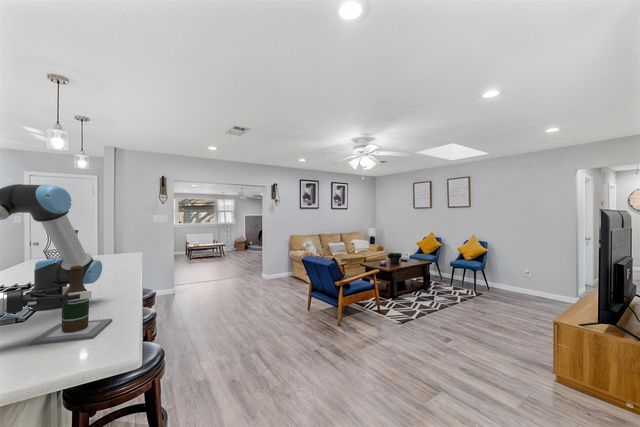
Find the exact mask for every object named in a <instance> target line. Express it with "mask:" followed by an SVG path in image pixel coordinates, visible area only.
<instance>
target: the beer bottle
mask: <svg viewBox="0 0 640 427" xmlns="http://www.w3.org/2000/svg"><path fill="white" fill-rule="evenodd" d="M82 269H83V266H72V267H71V269H70V270H71V278H70V284H68V285H69V286H68V287H69V288H68V290H67V291H66V292H65V294H64V295H68V294H70V293H76V292H83V291H88V290H87V288H85V286H83V285H84V284H83V275H82ZM89 309H90V298H88V299H82V300H75V301H69V302H68V304H66V305H64V304H62V307H61V323H62V331H63V332H64V333H70V332H76V331H80V330H83V329H85V328H87V327H88V321H89V317H90V316H89V314H90V313H89V312H90V310H89Z"/></svg>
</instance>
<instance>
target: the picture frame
mask: <svg viewBox="0 0 640 427" xmlns="http://www.w3.org/2000/svg"><path fill="white" fill-rule="evenodd" d="M112 322H113V318H104V319H94V320H88V327H87V328H85V329H83V330H80V331H76V332H70V333H64V332H63V331H62V322H59V323H58V324H56V325H54V326H53V327H51V328H50V329H48V330H47V331H44V333H42V334H41V335H39V336H37V337H36V338H34V339H32V340H31V341H29V344H28V346H36V345H45V344H54V343H55V344H56V343H63V342H72V341H74V342H75V341H83V340H92V339H93V340H94V339H95V337H97V336H98V335H99V334H100V333H101V332H102V331H104V329H105V328H107V326H108V325H110V324H111V323H112Z"/></svg>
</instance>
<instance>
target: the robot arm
mask: <svg viewBox="0 0 640 427" xmlns="http://www.w3.org/2000/svg"><path fill="white" fill-rule="evenodd" d="M71 207H72V198H71V195H70V193H69V192H68V191H67V190H66V189H65V187H64V188H63V187H62V186H58V185H54V184H53V185H52V184H23V183H22V184H21V183H18V184H17V183H16V184H10V185H5V186H3V187H1V188H0V221H3V220H7V219H8V218H9V217H10V216H12V215H14V214H18V213H22V214H23V213H24V214H27V213H28V214H30V215H31V218H32V219H33V220H34V221H35V222H37V223H41V224H42V226H43V229H44V230H45V231H46V233H47V236H48V237H49V239H50V240H51V242H52V244H53V245H54V248H55V249H56V251H57V253H58V254H59V256H60V257H56V258H48V259H45V260H43V259H42V260H39V261H36V263H35V265H34V270H33V271H34V272H33V273H34V277H33V278H34V279H33V280H34V282H33V286H34V287H33V291H28V292H25V295H24V291H23V289H16V290H8V291H6V292H5V291H0V316H3V315H4V314H5V313H6V314H7V315H9V314H16V313H21V312H22V311H23V310H24V306H27V308H28V307H31V308H33V309H30V308H28V309H27V310H28V311H32V312H33V311H35V312H37V311H39V312H40V311H48V310H54V309H58V308H62V304H64V305H66V304H68V302H69V301H75V300H82V299H88V298H89V299H91V298H92V290H87V291H83V292H76V293H70V294H68V295H64V294H65V292H66V291H67V290H68V288H69V286H68V285H70V278H71V270H70V269H71V267H72V266H83V269H82V275H83V286H84V287H85V285H88V284H89V285H90V284H95V283H96V282H97V281H98V279H99V278H100V277H101V275H102V272H103V263H102V261H101V260H99V259H93V256H92V255H91V254H90V253H88V252H86V251H85V249H84V247H83V245H82V243H81V242H80V240H79V237H78V235H77V233H76V231H75V229H74V227H73V224H72V223H71V222H70V219H69V217H68V214H69V212H70V209H71Z"/></svg>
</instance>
